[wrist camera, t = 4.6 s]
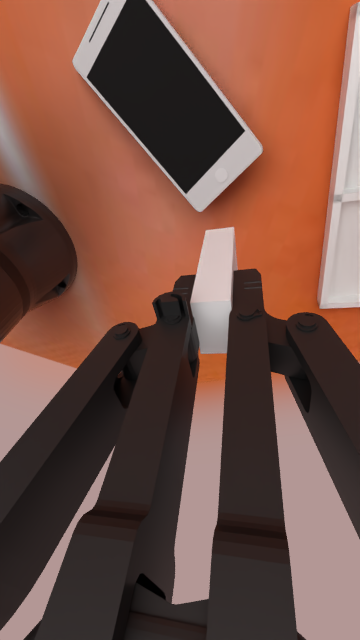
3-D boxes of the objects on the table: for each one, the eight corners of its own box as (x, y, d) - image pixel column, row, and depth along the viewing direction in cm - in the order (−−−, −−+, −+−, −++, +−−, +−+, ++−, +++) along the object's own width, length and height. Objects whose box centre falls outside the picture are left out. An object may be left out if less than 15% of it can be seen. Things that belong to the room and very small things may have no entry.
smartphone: (201, 212, 27) (198, 214, 26) (76, 65, 24) (69, 63, 23) (265, 149, 23) (264, 150, 22) (126, -36, 20) (119, -42, 19)
